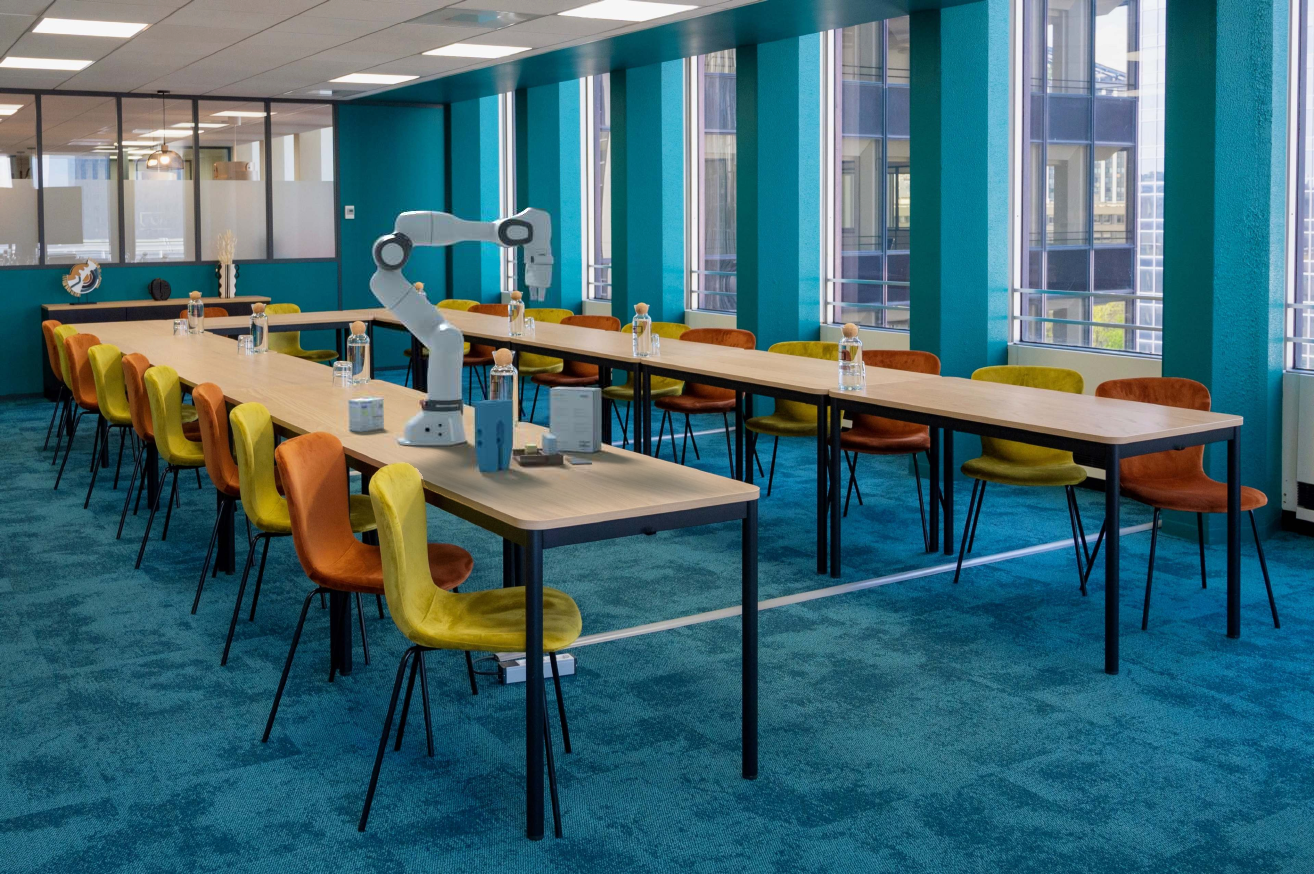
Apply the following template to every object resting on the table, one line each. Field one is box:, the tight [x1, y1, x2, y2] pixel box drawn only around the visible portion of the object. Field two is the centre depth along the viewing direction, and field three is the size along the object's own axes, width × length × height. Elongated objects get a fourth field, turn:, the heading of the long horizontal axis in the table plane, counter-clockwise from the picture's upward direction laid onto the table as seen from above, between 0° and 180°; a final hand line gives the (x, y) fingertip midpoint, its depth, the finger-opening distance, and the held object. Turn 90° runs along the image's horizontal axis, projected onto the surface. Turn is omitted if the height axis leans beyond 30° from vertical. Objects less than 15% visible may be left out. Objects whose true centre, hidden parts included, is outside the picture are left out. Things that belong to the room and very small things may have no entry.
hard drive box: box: [548, 386, 603, 454], centre depth 400 cm, size 16×8×20 cm, turn 71°
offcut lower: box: [525, 450, 537, 455], centre depth 381 cm, size 3×4×2 cm
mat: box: [564, 456, 593, 466], centre depth 380 cm, size 6×10×1 cm, turn 17°
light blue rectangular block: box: [541, 433, 558, 455], centre depth 379 cm, size 3×9×6 cm, turn 17°
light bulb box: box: [348, 396, 385, 433], centre depth 437 cm, size 11×7×11 cm, turn 144°
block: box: [474, 398, 514, 473], centre depth 364 cm, size 12×5×20 cm, turn 144°
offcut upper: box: [524, 443, 538, 452], centre depth 380 cm, size 3×4×2 cm
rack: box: [511, 447, 565, 467], centre depth 379 cm, size 13×13×3 cm
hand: (537, 300), depth 414 cm, fingers open, 8 cm apart
